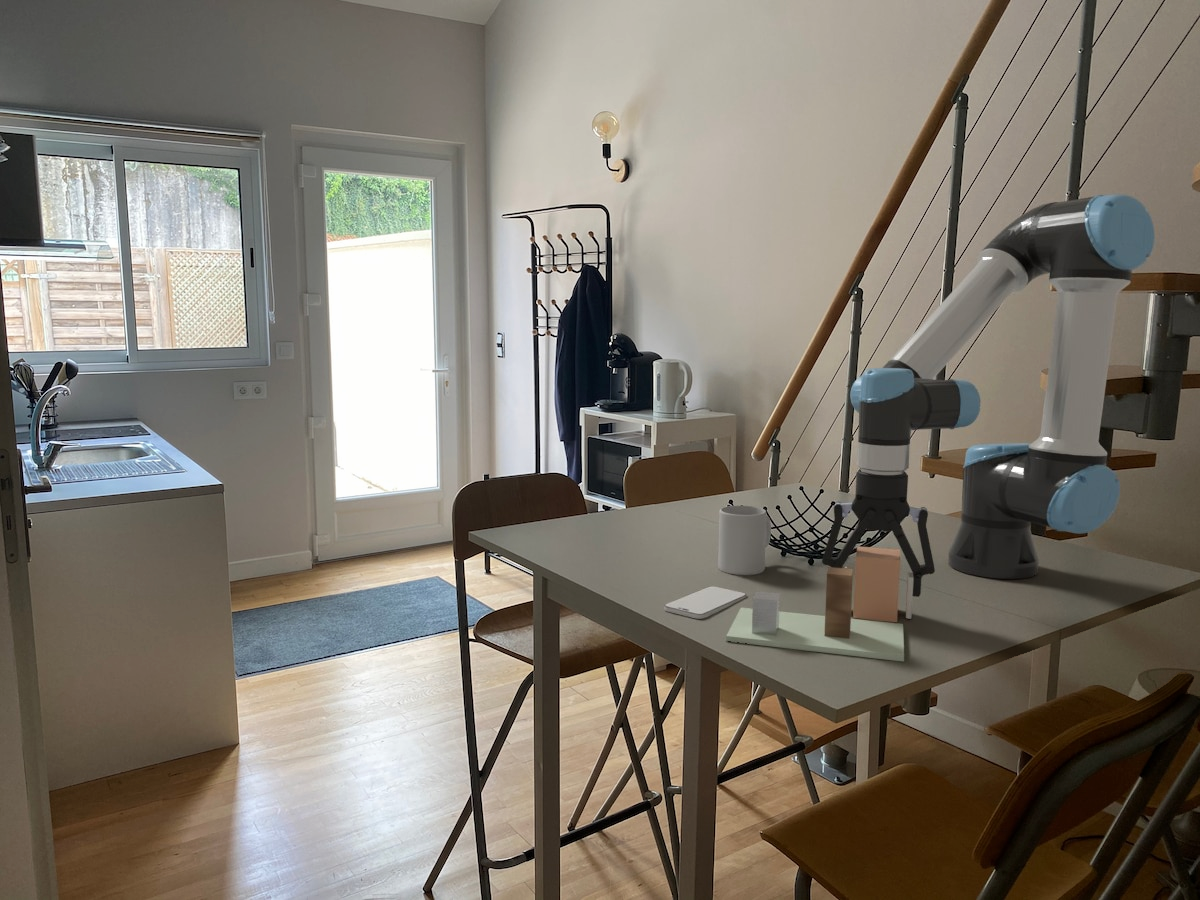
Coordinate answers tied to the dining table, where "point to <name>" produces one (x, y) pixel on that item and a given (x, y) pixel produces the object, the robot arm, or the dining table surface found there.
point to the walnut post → (838, 602)
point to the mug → (743, 539)
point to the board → (810, 632)
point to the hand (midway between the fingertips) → (875, 612)
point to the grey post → (765, 613)
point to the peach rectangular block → (876, 584)
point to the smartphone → (704, 602)
